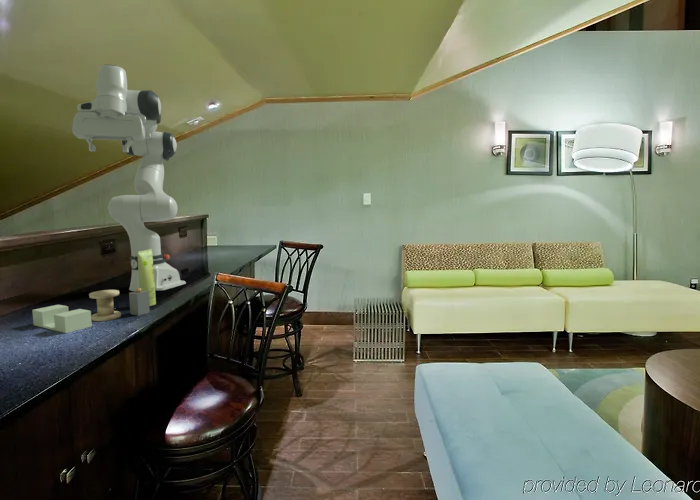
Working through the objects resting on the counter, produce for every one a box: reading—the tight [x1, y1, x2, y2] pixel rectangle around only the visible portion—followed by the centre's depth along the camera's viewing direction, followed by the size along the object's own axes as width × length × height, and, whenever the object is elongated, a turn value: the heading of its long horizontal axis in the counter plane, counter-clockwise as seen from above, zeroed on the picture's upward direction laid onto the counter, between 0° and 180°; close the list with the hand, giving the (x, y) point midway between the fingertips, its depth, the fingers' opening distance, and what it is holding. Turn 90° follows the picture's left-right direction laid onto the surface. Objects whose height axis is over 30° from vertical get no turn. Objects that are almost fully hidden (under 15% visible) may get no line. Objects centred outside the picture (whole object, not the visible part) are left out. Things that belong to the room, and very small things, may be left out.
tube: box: [138, 249, 157, 307], centre depth 139 cm, size 6×5×20 cm
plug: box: [128, 288, 151, 316], centre depth 130 cm, size 4×4×8 cm
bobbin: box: [88, 289, 122, 322], centre depth 125 cm, size 8×8×8 cm
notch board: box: [32, 304, 93, 334], centre depth 117 cm, size 7×16×5 cm, turn 63°
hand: (108, 151), depth 126 cm, fingers open, 8 cm apart
